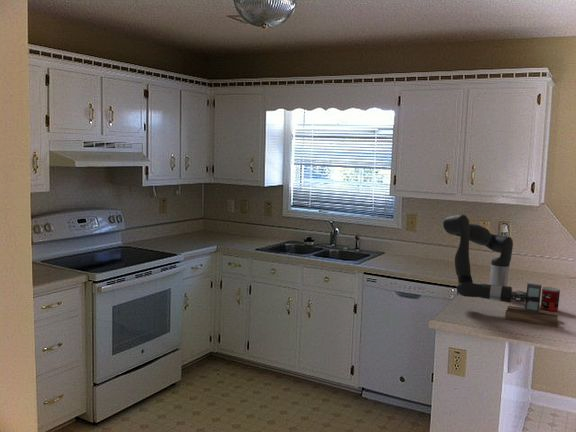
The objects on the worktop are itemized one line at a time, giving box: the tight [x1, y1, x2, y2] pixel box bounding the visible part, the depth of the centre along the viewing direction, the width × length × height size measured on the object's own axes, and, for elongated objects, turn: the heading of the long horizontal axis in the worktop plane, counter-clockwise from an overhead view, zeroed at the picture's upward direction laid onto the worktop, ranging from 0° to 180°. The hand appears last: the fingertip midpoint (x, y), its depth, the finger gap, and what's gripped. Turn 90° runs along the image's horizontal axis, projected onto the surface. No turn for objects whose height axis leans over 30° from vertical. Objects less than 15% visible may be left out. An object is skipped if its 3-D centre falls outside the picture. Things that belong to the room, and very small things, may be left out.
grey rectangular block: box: [524, 282, 543, 315], centre depth 267 cm, size 3×6×14 cm, turn 64°
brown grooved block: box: [504, 305, 559, 328], centre depth 268 cm, size 13×22×4 cm, turn 64°
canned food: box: [540, 286, 561, 313], centre depth 287 cm, size 8×8×11 cm
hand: (539, 299), depth 266 cm, fingers closed on grey rectangular block, 3 cm apart
